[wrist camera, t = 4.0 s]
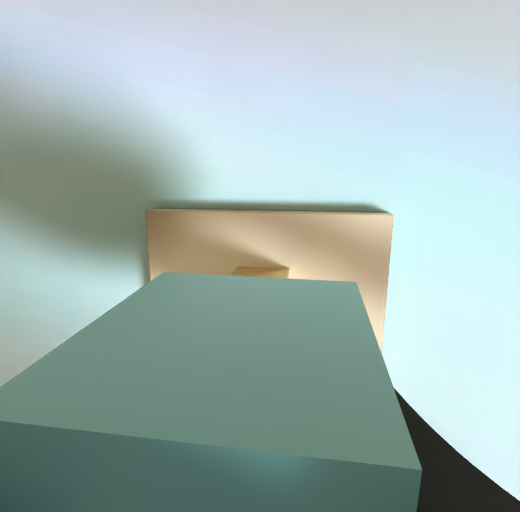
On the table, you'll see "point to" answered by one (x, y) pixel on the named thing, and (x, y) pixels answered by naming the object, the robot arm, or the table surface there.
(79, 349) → the pale aqua cube
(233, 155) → the table surface
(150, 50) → the table surface
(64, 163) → the table surface
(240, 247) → the birch board
